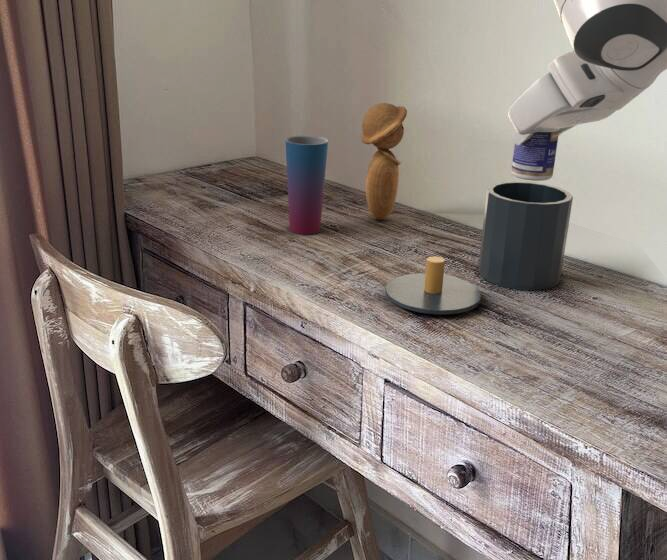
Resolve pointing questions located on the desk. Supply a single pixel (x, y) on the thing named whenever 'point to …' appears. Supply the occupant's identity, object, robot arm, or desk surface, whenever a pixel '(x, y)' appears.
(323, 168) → the cup
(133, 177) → the desk surface
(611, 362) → the desk surface
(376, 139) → the figurine
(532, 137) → the pill bottle
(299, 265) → the desk surface
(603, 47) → the robot arm
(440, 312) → the can lid
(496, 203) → the can
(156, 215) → the desk surface
